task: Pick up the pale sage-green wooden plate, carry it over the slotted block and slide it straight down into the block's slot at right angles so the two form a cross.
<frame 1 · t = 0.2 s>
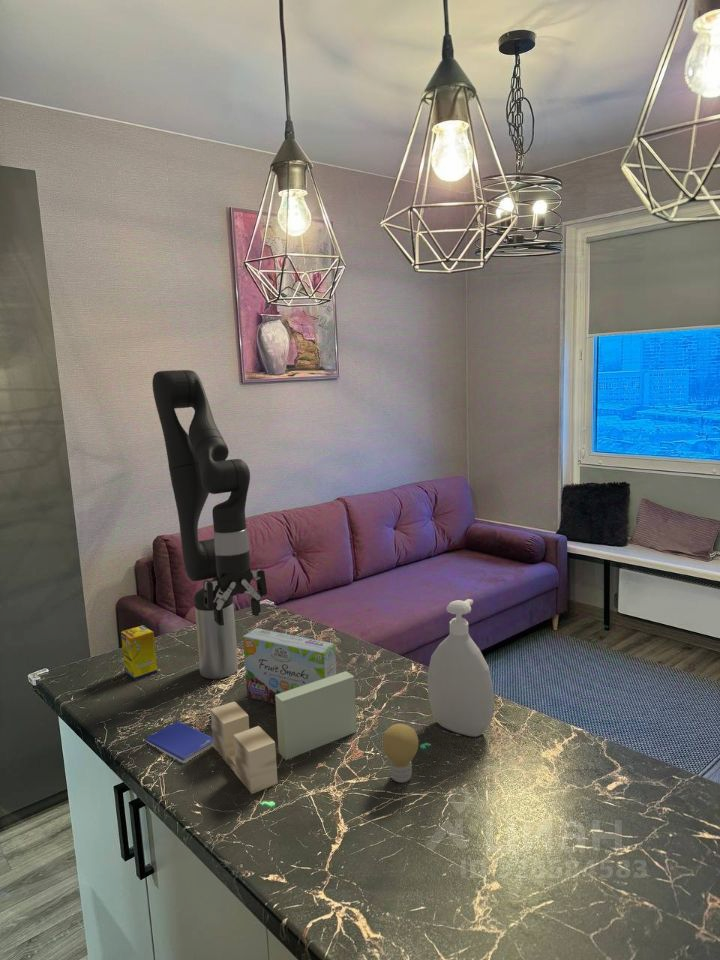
hand: (238, 620, 146), 18 cm above the countertop, tool pointing down, fingers open, 8 cm apart
hard drive: (181, 746, 130), on the countertop
sage plate: (318, 742, 129), on the countertop
light bulb: (401, 779, 116), on the countertop
soap bottle: (461, 727, 132), on the countertop
supplement box: (141, 673, 161), on the countertop
snack box: (291, 703, 144), on the countertop
slotted block: (244, 764, 122), on the countertop
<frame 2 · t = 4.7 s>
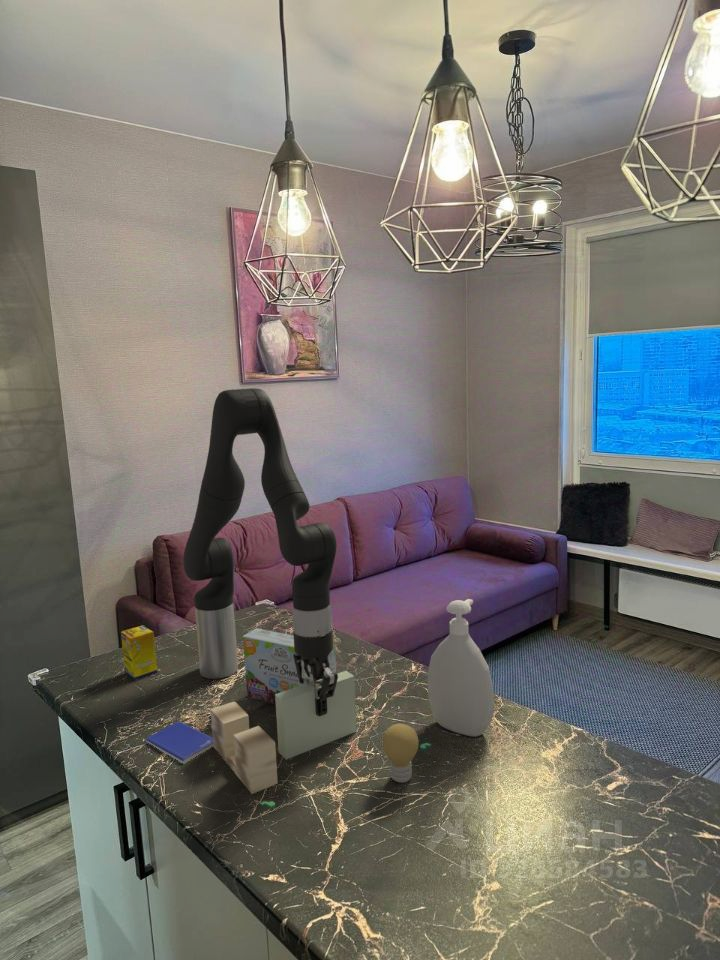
hand: (317, 710, 127), 7 cm above the countertop, tool pointing down, fingers closed on sage plate, 3 cm apart
sage plate: (318, 741, 129), on the countertop, touching gripper
everything else where it was.
when the fingers open (10 cm above the countertop, at t = 10.4 s): sage plate stays where it is, resting on slotted block.
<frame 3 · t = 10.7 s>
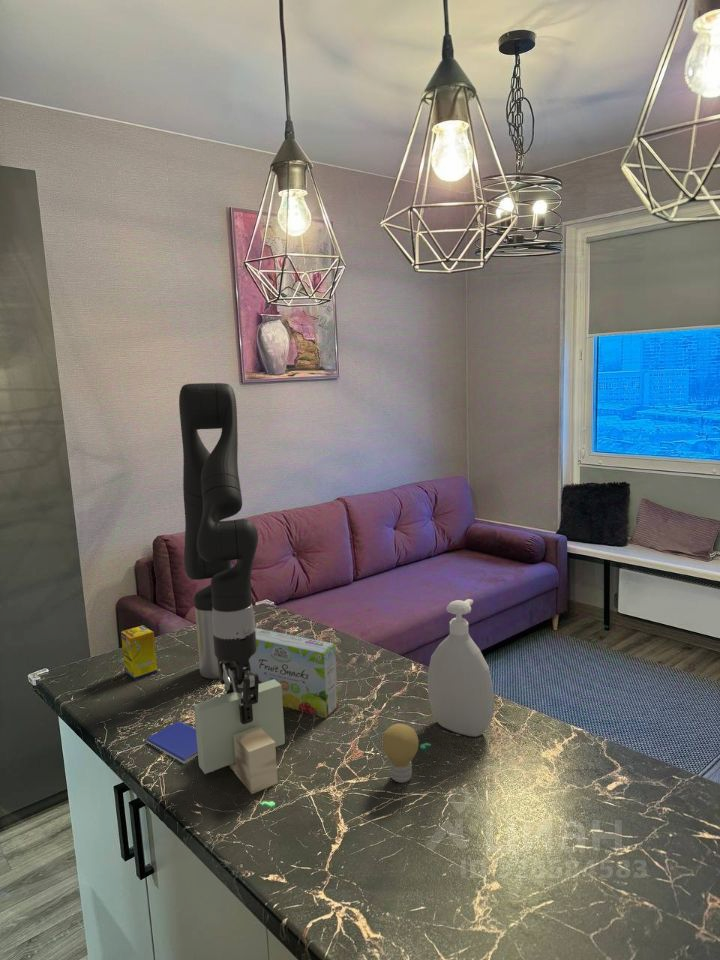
hand: (240, 715, 120), 10 cm above the countertop, tool pointing down, fingers open, 5 cm apart
sage plate: (243, 754, 122), point 2 cm above the countertop, touching slotted block
everything else where it was.
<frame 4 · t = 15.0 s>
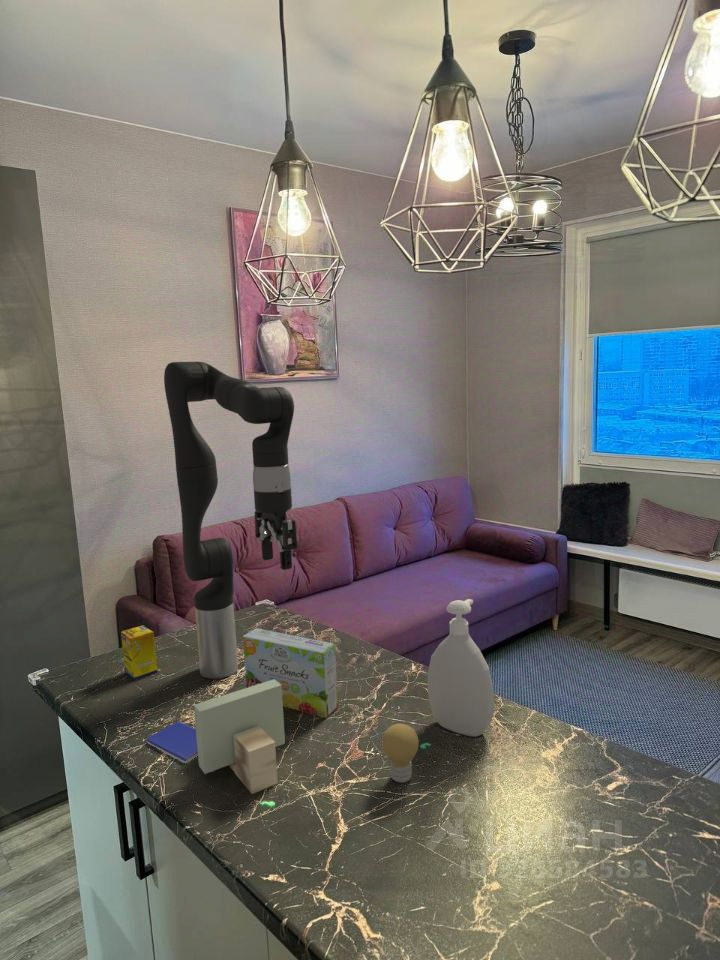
hand: (276, 564, 135), 33 cm above the countertop, tool pointing down, fingers open, 8 cm apart
nothing on the countertop moved.
at the end: sage plate 0.0 cm off-centre on the slotted block, point 2.0 cm above the slotted block's base; sage plate tilted 0°; the gripper is holding nothing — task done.
